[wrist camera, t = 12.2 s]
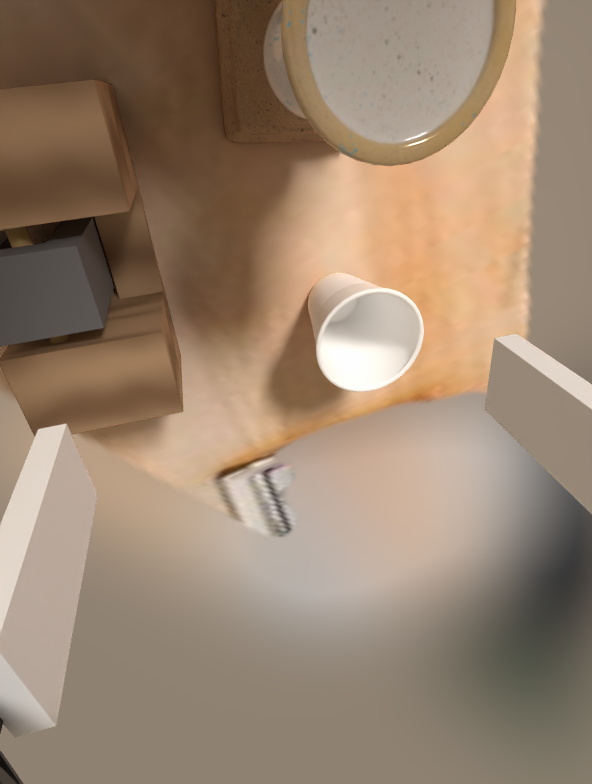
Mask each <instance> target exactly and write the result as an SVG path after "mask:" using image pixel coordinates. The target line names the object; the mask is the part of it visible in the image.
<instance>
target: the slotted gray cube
mask: <svg viewBox="0 0 592 784" xmlns="http://www.w3.org/2000/svg"><path fill="white" fill-rule="evenodd" d="M113 288H114V285H113V282H112V279H111V276H110V273H109V269H108V266H107V263H106V260H105V256H104V253H103V250H102V247H101V244H100V240H99V237H98V234H97V231H96V228H95V224H94V221H93V218H85V219H78V220H71V221H64V222H62V223H61V224H60V225H59V226H58V228H57V229H56V230H55V231H54V233H53V234H52V235H51V236H50V238H49V239H48V240H47V241H46V243H40V244H34V245H27V246H21V247H14V248H12V247H11V244H10V242H9V239H8V237H7V234H6V232H5V230H3V231H0V347H1V346H7V345H12V344H18V343H23V342H29V341H34V340H40V339H45V338H51V337H56V336H62V335H67V334H73V333H79V332H84V331H90V330H95V329H101V328H104V325H105V321H106V317H107V313H108V309H109V305H110V301H111V297H112V293H113Z"/></svg>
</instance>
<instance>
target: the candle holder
mask: <svg viewBox="0 0 592 784" xmlns="http://www.w3.org/2000/svg"><path fill="white" fill-rule="evenodd" d="M215 11H216V25H217V39H218V53H219V66H220V80H221V94H222V108H223V119H224V128H225V135H226V138H227V140H229V141H232V142H246V143H259V142H302V141H326V142H327V143H328V144H329V145H331V146H332V147H333V148H335V149H336V150H338V151H339V152H341V153H342V154H344V155H346V156H348V157H350V158H353V159H355V160H357V161H360V162H364V163H368V164H372V165H382V166H395V165H403V164H409V163H412V162H415V161H419V160H422V159H424V158H426V157H428V156H430V155H432V154H434V153H436V152H439V151H440V150H441V149H443V148H444V147H446V146H447V145H449V144H450V143H451V142H453V141H454V140H455V139H456V138H457V137H458V136H459V135H460V134H462V133H463V132H464V131H465V130H466V129H467V128H468V127H469V125H470V124H471V123H472V122H473V121H474V119H475V118H476V117H477V116H478V115H479V113H480V112H481V110H482V109H483V107H484V106H485V104H486V102H487V101H488V99H489V98H490V96H491V94H492V92H493V90H494V88H495V86H496V84H497V82H498V80H499V78H500V76H501V73H502V70H503V67H504V65H505V62H506V59H507V56H508V52H509V48H510V44H511V40H512V36H513V30H514V22H515V14H516V0H215Z"/></svg>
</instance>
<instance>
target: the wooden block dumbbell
mask: <svg viewBox="0 0 592 784" xmlns="http://www.w3.org/2000/svg"><path fill="white" fill-rule="evenodd" d="M93 216H94V218H95V221H96V224H97V227H98V231H99V234H100V237H101V240H102V244H103V247H104V250H105V253H106V257H107V260H108V263H109V266H110V270H111V273H112V276H113V279H114V282H115V286H116V289H117V292H118V294H115V295H112V297H111V301H110V305H109V309H108V313H107V317H106V321H105V325H104V328H101V329H95V330H90V331H84V332H79V333H73V334H67V335H62V336H56V337H51V338H45V339H40V340H34V341H29V342H23V343H18V344H12V345H9V346H8V347H7V349H6V351H5V352H4V354H3V355H2V357H1V358H0V366H1V368H2V370H3V372H4V374H5V377H6V379H7V381H8V383H9V385H10V387H11V389H12V391H13V393H14V395H15V397H16V399H17V401H18V403H19V405H20V407H21V409H22V411H23V413H24V416H25V418H26V420H27V422H28V424H29V426H30V428H31V430H32V432H33V434H34V436H36V433H37V431H38V429H42V428H47V427H52V426H57V425H62V424H67V426H68V428H69V430H70V433H71V434H76V433H81V432H86V431H90V430H95V429H100V428H105V427H110V426H115V425H120V424H125V423H130V422H135V421H140V420H145V419H150V418H155V417H160V416H165V415H169V414H174V413H179V412H183V394H182V373H181V354H180V351H179V347H178V343H177V339H176V335H175V331H174V327H173V323H172V319H171V315H170V311H169V307H168V303H167V299H166V295H165V291H164V287H163V283H162V280H161V276H160V272H159V268H158V264H157V260H156V256H155V252H154V248H153V244H152V240H151V236H150V232H149V228H148V224H147V220H146V216H145V212H144V209H143V205H142V201H141V197H140V193H139V189H138V185H137V181H136V177H135V173H134V169H133V165H132V161H131V157H130V153H129V149H128V145H127V142H126V138H125V134H124V130H123V126H122V122H121V118H120V114H119V110H118V106H117V102H116V98H115V94H114V90H113V86H112V84H109V83H105V82H102V81H98V80H94V79H92V80H83V81H73V82H64V83H54V84H45V85H35V86H26V87H17V88H7V89H0V230H3V229H4V230H5V232H6V234H7V237H8V239H9V242H10V244H11V247H12V248H14V247H21V246H27V245H34V244H33V241H32V239H31V236H30V234H29V231H28V228H27V226H31V225H38V224H45V223H51V222H58V221H65V220H72V219H79V218H86V217H93Z"/></svg>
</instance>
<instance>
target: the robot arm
mask: <svg viewBox="0 0 592 784" xmlns="http://www.w3.org/2000/svg"><path fill="white" fill-rule="evenodd" d="M485 410H486V411H487V412H488V413H489V414H490V415H491V416H492V417H493V418H494V419H495V420H496V421H497V422H498V423H499V424H500V425H501V426H502V427H503V428H504V429H505V430H506V431H507V432H508V433H509V434H510V435H511V436H512V437H513V438H514V439H515V440H516V441H517V442H518V443H520V444H521V446H523V447H524V448H525V449H526V450H527V451H528V452H529V453H530V454H531V455H532V456H533V457H534V458H535V459H536V460H537V461H538V462H539V463H540V464H541V465H542V466H543V467H544V468H545V469H546V470H547V471H548V472H549V473H550V474H551V475H552V476H553V477H554V478H555V479H556V480H557V481H558V482H559V483H560V484H561V485H562V486H563V487H564V488H565V489H566V490H567V491H568V492H570V493H571V494H572V495H573V496H574V497H575V498H576V499H577V500H578V501H579V502H580V503H581V504H582V505H583V506H584V507H585V508H586V509H587V510H588V511H589V512H590V513H591V514H592V384H590V383H589V382H587V381H586V380H584V379H583V378H581V377H580V376H578V375H577V374H575V373H574V372H572V371H571V370H569V369H568V368H566V367H565V366H563V365H562V364H560V363H559V362H557V361H556V360H554V359H553V358H551V357H550V356H549V355H547V354H546V353H544V352H543V351H541V350H540V349H538V348H537V347H535V346H534V345H532V344H531V343H529V342H528V341H526V340H525V339H523V338H522V337H520V336H519V335H517V334H513V335H508V336H503V337H498V338H494V345H493V352H492V360H491V367H490V374H489V382H488V389H487V396H486V403H485ZM96 501H97V493H96V490H95V488H94V486H93V483H92V481H91V479H90V476H89V474H88V472H87V469H86V467H85V465H84V463H83V460H82V458H81V456H80V453H79V451H78V449H77V446H76V444H75V442H74V440H73V437H72V435H71V433H70V430H69V428H68V426H67V424H62V425H57V426H52V427H47V428H42V429H38V431H37V433H36V436H35V438H34V441H33V443H32V446H31V448H30V451H29V453H28V456H27V459H26V461H25V464H24V466H23V469H22V471H21V474H20V476H19V479H18V481H17V484H16V486H15V489H14V491H13V494H12V496H11V499H10V501H9V504H8V507H7V509H6V511H5V514H4V516H3V519H2V522H1V525H0V732H1V728H2V725H3V724H4V725H5V726H6V728H7V729H8V730H9V731H10V732H11V733H12V735H13V736H14V737H18V736H22V735H26V734H29V733H32V732H36V731H40V730H43V729H47V728H50V727H54V726H56V723H57V718H58V712H59V706H60V701H61V695H62V690H63V684H64V679H65V673H66V668H67V662H68V656H69V651H70V645H71V640H72V634H73V629H74V623H75V618H76V612H77V606H78V601H79V595H80V590H81V584H82V579H83V573H84V568H85V562H86V556H87V551H88V545H89V540H90V534H91V529H92V523H93V517H94V512H95V506H96ZM0 784H23V782H22V781H21V779H20V778H19V777H18V775H17V774H16V772H15V771H14V769H13V768H12V766H11V765H10V764H9V762H8V761H7V759H6V758H5V756H4V755H3V753H2V752H1V751H0Z"/></svg>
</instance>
